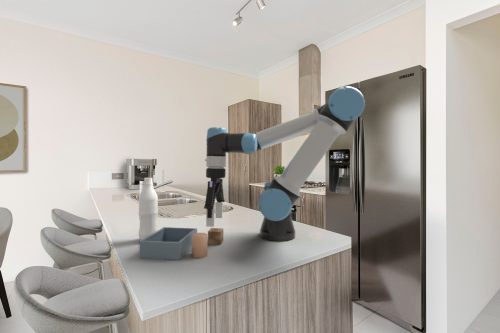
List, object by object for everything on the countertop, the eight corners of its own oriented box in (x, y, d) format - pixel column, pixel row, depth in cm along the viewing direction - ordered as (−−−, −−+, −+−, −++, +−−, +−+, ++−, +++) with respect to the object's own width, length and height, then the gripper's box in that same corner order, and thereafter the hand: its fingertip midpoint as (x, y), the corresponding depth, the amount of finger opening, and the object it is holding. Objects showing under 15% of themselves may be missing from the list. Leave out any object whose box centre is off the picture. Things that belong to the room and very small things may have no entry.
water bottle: (151, 243, 96) (151, 178, 96) (134, 242, 98) (134, 178, 97) (161, 238, 103) (161, 177, 103) (145, 237, 105) (145, 177, 104)
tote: (197, 242, 98) (197, 228, 98) (179, 260, 81) (179, 243, 81) (163, 240, 100) (163, 227, 100) (139, 257, 83) (139, 241, 82)
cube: (223, 240, 101) (223, 228, 101) (220, 244, 96) (220, 231, 96) (211, 240, 102) (211, 227, 101) (207, 244, 97) (207, 231, 96)
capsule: (208, 253, 87) (209, 233, 87) (204, 258, 82) (204, 237, 82) (195, 252, 88) (195, 232, 88) (190, 257, 83) (190, 236, 83)
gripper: (214, 166, 111) (213, 214, 112) (196, 168, 86) (194, 230, 87) (231, 167, 110) (230, 215, 111) (217, 169, 85) (216, 231, 86)
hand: (214, 221), depth 99 cm, fingers open, 13 cm apart
